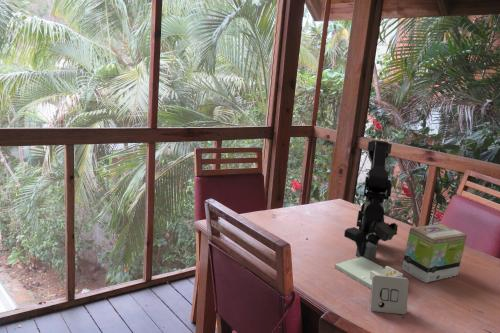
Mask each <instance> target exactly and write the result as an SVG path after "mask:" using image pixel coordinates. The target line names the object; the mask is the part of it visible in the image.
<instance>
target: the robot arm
mask: <svg viewBox="0 0 500 333" xmlns="http://www.w3.org/2000/svg"><path fill="white" fill-rule="evenodd" d="M392 146H393V143H390V142H389V141H385V140H378V139H377V140H376V139H372V140H371V141H368V142H367V149H366V153H368V154H367V157H368V161H369V162H370V168H369V170H368V173H367V174H368V175H366V176H365V179H364V187H363V188H364V189H363V197H365V201H364V203H362V205H361V207H360V210H358V211H357V213H358V214H357V218H356V219H357V220H356V227H355V226H353V227H350V228H349V227H348V228H346V229H344V234H343V237H345V238H347V239H349V240H351V241H353V242H355V245H356V249H357V248H358V251H359V254H360V256H362V257H363V255H364V252H365V248H366V244H367V243H368V242H370V243H372V244H374V245H376V246H378V243H379V241H383V242H387V241H391V240H392V239H393V237H394V236H397V235H398V228H399V226H398V224H397V223H396V222H392V223H389V222H386V221H385V206H384V201H385V200H386V201H389V197H391V195H392V194H391V193H392V182H391V179H389V176H390V175H389V171H388V170H386V161H387V159H388V158H389V155H391V153H392ZM357 227H358V228H357Z"/></svg>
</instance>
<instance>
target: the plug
mask: <svg viewBox="0 0 500 333" xmlns="http://www.w3.org/2000/svg"><path fill="white" fill-rule="evenodd" d="M377 250H378V245H374V244H372V243H370V242H368V243H367V244H366V248H365V252H364V255H363V257H364V258H366V259H368V260H370V261H372V262H373V261H375V260H376V257H377V256H376V255H377ZM355 256H356V258H358V257H362V256H360V254H359V251H358V248H357V247H356V251H355Z"/></svg>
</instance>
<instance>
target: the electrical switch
mask: <svg viewBox="0 0 500 333" xmlns="http://www.w3.org/2000/svg"><path fill="white" fill-rule="evenodd" d="M409 283H410V281H409V279H408V278H407V277H403V278H402V277H393V276H383V275H373V276H372V288H371V289H370V290H371V291H370V292H371V293H370V301H369V309H370V310H371V311H372V312H379V313H388V314H397V315H406V314H407V310H408V297H409Z"/></svg>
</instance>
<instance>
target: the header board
mask: <svg viewBox="0 0 500 333" xmlns="http://www.w3.org/2000/svg"><path fill="white" fill-rule="evenodd" d="M334 268H335V269H336V270H337V271H340V272H342V273H343V274H345V275H346V276H348V277H350V278H351V279H353V280H355V281H356V282H358V283H360V284H361V285H363V286H365V287H367V288H369V289H370V290H371V288H372V276H373V275H383V276H393V277H402V278H404V277H403V276H404V274H403V273H402V272H400V271H398V270H397V269H395V268H393V267H390V266H388V265H386V266H385V267H383V266H381V265H379V264H377V263H375V261H374V262H373V260H372V261H370V260H368V259H366V258H364V257H356V258H353V259H348V260H346V261H345V260H344V261H341V262H338V263H335V264H334Z"/></svg>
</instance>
